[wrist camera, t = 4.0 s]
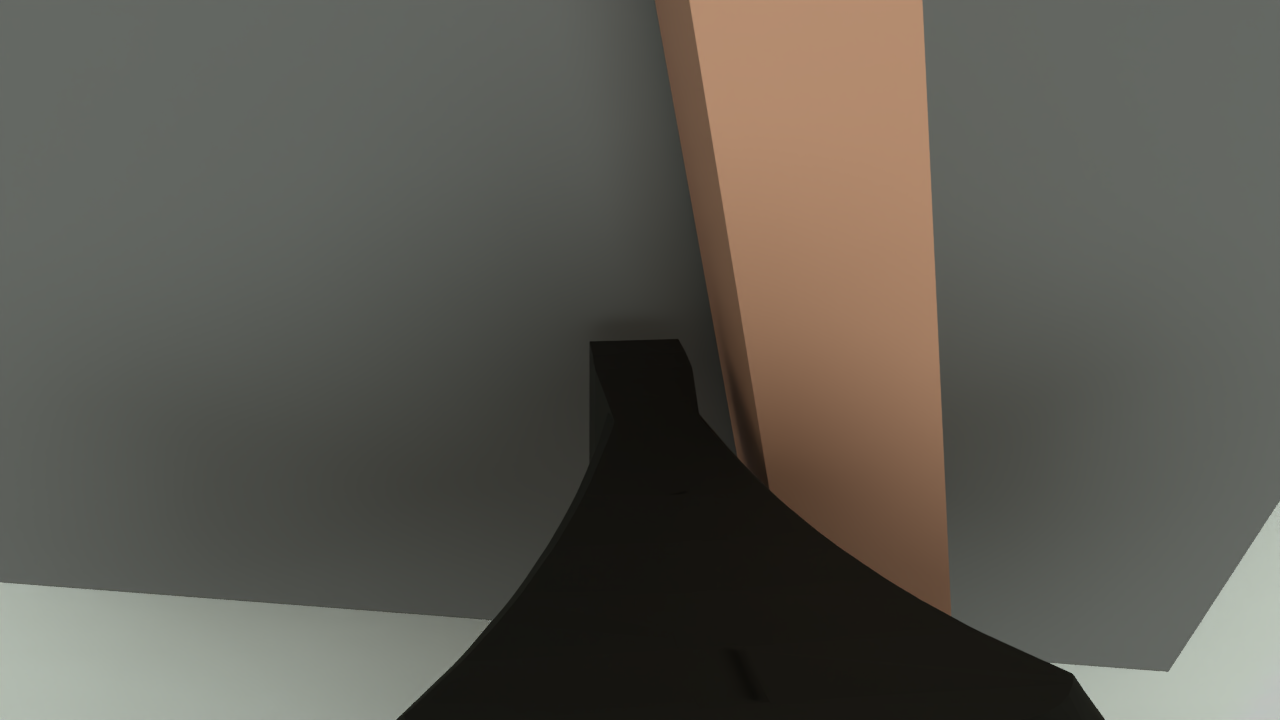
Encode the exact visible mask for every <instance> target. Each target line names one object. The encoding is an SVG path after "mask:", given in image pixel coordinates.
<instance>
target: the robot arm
mask: <svg viewBox="0 0 1280 720" xmlns="http://www.w3.org/2000/svg"><path fill="white" fill-rule="evenodd" d="M396 720H1105V719H1104V718H1103V716H1102V715H1101V714H1100V712H1099V711H1098V709H1097V708H1096V707H1095V705H1094V704H1093V702H1092V701H1091V700H1090V698H1089V697H1088V696H1087V694H1086V693H1085V691H1084V690H1083V688H1082V687H1081V685H1080V684H1079V682H1078V681H1077V679H1076V678H1075V676H1074V675H1073V674H1072V673H1070V672H1068V671H1066V670H1063V669H1061V668H1059V667H1057V666H1055V665H1052V664H1050V663H1048V662H1046V661H1043V660H1041V659H1039V658H1037V657H1035V656H1032V655H1030V654H1028V653H1026V652H1024V651H1021V650H1019V649H1017V648H1015V647H1013V646H1010V645H1008V644H1006V643H1004V642H1002V641H999V640H997V639H995V638H993V637H991V636H988V635H986V634H984V633H982V632H980V631H978V630H976V629H974V628H972V627H970V626H968V625H966V624H964V623H962V622H961V621H959V620H957V619H955V618H953V617H952V616H950V615H948V614H946V613H944V612H942V611H941V610H939V609H937V608H935V607H933V606H931V605H930V604H928V603H926V602H924V601H922V600H920V599H919V598H917V597H915V596H914V595H912V594H910V593H909V592H907V591H905V590H904V589H902V588H900V587H899V586H897V585H895V584H894V583H892V582H890V581H889V580H887V579H886V578H884V577H883V576H881V575H880V574H878V573H877V572H875V571H874V570H872V569H871V568H869V567H868V566H866V565H865V564H863V563H862V562H860V561H859V560H857V559H856V558H854V557H853V556H851V555H850V554H849V553H847V552H846V551H844V550H843V549H841V548H840V547H838V546H837V545H836V544H834V543H833V542H832V541H830V540H829V539H828V538H826V537H825V536H824V535H822V534H821V533H820V532H818V531H817V530H816V529H815V528H813V527H812V526H811V525H810V524H809V523H807V522H806V521H805V520H804V519H802V518H801V517H800V516H799V515H798V514H796V513H795V512H794V511H793V510H791V509H790V508H789V507H788V506H787V505H786V504H784V503H783V502H782V501H781V500H780V499H779V498H778V497H777V496H776V495H775V494H774V493H773V492H771V491H770V490H769V489H768V488H767V487H766V486H765V485H764V484H763V483H762V482H761V481H760V480H759V479H758V478H757V477H756V476H755V475H754V474H753V473H752V472H751V471H750V470H749V469H748V468H747V467H746V466H745V465H744V464H743V463H742V462H741V461H740V460H739V459H738V457H737V456H736V455H735V454H734V453H733V452H732V451H731V450H730V449H729V448H728V447H727V446H726V444H725V443H724V442H723V441H722V440H721V439H720V437H719V436H718V435H717V434H716V433H715V432H714V430H713V429H712V428H711V427H710V426H709V425H708V423H707V422H706V421H705V420H704V419H703V418H702V416H701V415H700V414H699V410H698V403H697V396H696V389H695V382H694V376H693V369H692V366H691V363H690V361H689V359H688V356H687V354H686V352H685V350H684V348H683V346H682V345H681V343H680V341H679V339H657V340H622V341H589V466H588V468H587V471H586V473H585V475H584V478H583V480H582V482H581V485H580V487H579V489H578V491H577V493H576V495H575V497H574V499H573V501H572V503H571V505H570V507H569V509H568V511H567V512H566V514H565V516H564V518H563V520H562V522H561V523H560V525H559V527H558V528H557V530H556V532H555V534H554V535H553V537H552V539H551V540H550V542H549V544H548V545H547V547H546V548H545V550H544V551H543V553H542V554H541V556H540V557H539V559H538V560H537V562H536V563H535V565H534V566H533V568H532V569H531V571H530V572H529V574H528V575H527V577H526V578H525V580H524V581H523V583H522V584H521V585H520V587H519V588H518V589H517V591H516V592H515V594H514V595H513V596H512V597H511V599H510V600H509V601H508V603H507V604H506V605H505V606H504V607H503V609H502V610H501V611H500V612H499V613H498V615H497V616H496V617H495V618H494V619H493V620H492V622H491V623H490V624H489V625H488V626H487V628H486V629H485V630H484V631H483V632H482V633H481V635H480V636H479V637H478V638H477V639H476V641H475V642H474V643H473V644H472V645H471V646H470V648H469V649H468V650H467V651H466V652H465V653H464V654H463V655H462V656H461V658H460V659H459V660H458V661H457V662H456V663H455V664H454V665H453V666H452V667H451V668H450V669H449V670H448V671H447V672H446V673H445V674H444V675H443V676H442V677H440V678H439V679H438V680H437V681H436V682H435V683H434V684H433V685H432V686H431V687H430V688H429V689H428V690H427V691H426V692H425V693H424V694H423V695H422V696H421V697H420V698H419V699H418V700H417V701H415V702H414V703H413V704H412V705H411V706H410V707H409V708H408V709H407V710H406V711H405V712H404V713H403V714H402V715H401V716H400V717H398V718H397V719H396Z"/></svg>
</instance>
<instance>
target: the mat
mask: <svg viewBox="0 0 1280 720" xmlns="http://www.w3.org/2000/svg"><path fill="white" fill-rule="evenodd" d="M922 2H923V23H924V44H925V66H926V87H927V108H928V130H929V151H930V172H931V193H932V215H933V236H934V257H935V279H936V300H937V321H938V342H939V364H940V385H941V406H942V428H943V449H944V470H945V491H946V513H947V534H948V555H949V577H950V598H951V616H952V617H953V618H955V619H957V620H959V621H961V622H962V623H964V624H966V625H968V626H970V627H972V628H974V629H976V630H978V631H980V632H982V633H984V634H986V635H988V636H991V637H993V638H995V639H997V640H999V641H1002V642H1004V643H1006V644H1008V645H1010V646H1013V647H1015V648H1017V649H1019V650H1021V651H1024V652H1026V653H1028V654H1030V655H1032V656H1035V657H1037V658H1039V659H1041V660H1043V661H1046V662H1048V663H1061V664H1075V665H1088V666H1101V667H1114V668H1127V669H1140V670H1153V671H1166V672H1168V671H1169V670H1170V668H1171V667H1172V665H1173V664H1174V662H1175V661H1176V659H1177V658H1178V656H1179V654H1180V653H1181V651H1182V650H1183V648H1184V647H1185V645H1186V644H1187V642H1188V641H1189V639H1190V638H1191V636H1192V634H1193V633H1194V631H1195V630H1196V628H1197V627H1198V625H1199V624H1200V622H1201V621H1202V619H1203V618H1204V616H1205V615H1206V613H1207V611H1208V610H1209V608H1210V607H1211V605H1212V604H1213V602H1214V601H1215V599H1216V598H1217V596H1218V595H1219V593H1220V591H1221V590H1222V588H1223V587H1224V585H1225V584H1226V582H1227V581H1228V579H1229V578H1230V576H1231V575H1232V573H1233V572H1234V570H1235V568H1236V567H1237V565H1238V564H1239V562H1240V561H1241V559H1242V558H1243V556H1244V555H1245V553H1246V552H1247V550H1248V548H1249V547H1250V545H1251V544H1252V542H1253V541H1254V539H1255V538H1256V536H1257V535H1258V533H1259V532H1260V530H1261V529H1262V527H1263V525H1264V524H1265V522H1266V521H1267V519H1268V518H1269V516H1270V515H1271V513H1272V512H1273V510H1274V509H1275V507H1276V505H1277V504H1278V502H1279V501H1280V0H922ZM657 339H679V341H680V343H681V345H682V346H683V348H684V350H685V352H686V354H687V356H688V359H689V361H690V363H691V366H692V369H693V376H694V382H695V389H696V396H697V403H698V410H699V414H700V415H701V416H702V418H703V419H704V420H705V421H706V422H707V423H708V425H709V426H710V427H711V428H712V429H713V430H714V432H715V433H716V434H717V435H718V436H719V437H720V439H721V440H722V441H723V442H724V443H725V444H726V446H727V447H728V448H729V449H730V450H731V451H732V452H733V453H734V454H735V455H736V456H737V452H736V447H735V441H734V436H733V430H732V425H731V419H730V414H729V408H728V402H727V397H726V391H725V386H724V380H723V375H722V369H721V364H720V358H719V353H718V347H717V342H716V336H715V331H714V325H713V320H712V314H711V309H710V303H709V297H708V292H707V286H706V281H705V275H704V270H703V264H702V259H701V253H700V248H699V242H698V237H697V231H696V226H695V220H694V215H693V209H692V203H691V198H690V192H689V187H688V181H687V176H686V170H685V165H684V159H683V154H682V148H681V143H680V137H679V132H678V126H677V121H676V115H675V110H674V104H673V98H672V93H671V87H670V82H669V76H668V71H667V65H666V60H665V54H664V49H663V43H662V38H661V32H660V27H659V21H658V16H657V10H656V4H655V0H0V582H4V583H17V584H30V585H43V586H56V587H69V588H82V589H95V590H108V591H121V592H134V593H147V594H160V595H173V596H186V597H199V598H212V599H226V600H239V601H252V602H265V603H278V604H291V605H304V606H317V607H330V608H343V609H356V610H369V611H382V612H395V613H408V614H421V615H435V616H448V617H461V618H474V619H487V620H493V619H494V618H495V617H496V616H497V615H498V613H499V612H500V611H501V610H502V609H503V607H504V606H505V605H506V604H507V603H508V601H509V600H510V599H511V597H512V596H513V595H514V594H515V592H516V591H517V589H518V588H519V587H520V585H521V584H522V583H523V581H524V580H525V578H526V577H527V575H528V574H529V572H530V571H531V569H532V568H533V566H534V565H535V563H536V562H537V560H538V559H539V557H540V556H541V554H542V553H543V551H544V550H545V548H546V547H547V545H548V544H549V542H550V540H551V539H552V537H553V535H554V534H555V532H556V530H557V528H558V527H559V525H560V523H561V522H562V520H563V518H564V516H565V514H566V512H567V511H568V509H569V507H570V505H571V503H572V501H573V499H574V497H575V495H576V493H577V491H578V489H579V487H580V485H581V482H582V480H583V478H584V475H585V473H586V471H587V468H588V466H589V341H622V340H657Z"/></svg>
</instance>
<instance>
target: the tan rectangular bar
mask: <svg viewBox="0 0 1280 720" xmlns="http://www.w3.org/2000/svg"><path fill="white" fill-rule="evenodd" d="M655 4H656V10H657V16H658V21H659V27H660V32H661V38H662V43H663V49H664V54H665V60H666V65H667V71H668V76H669V82H670V87H671V93H672V98H673V104H674V110H675V115H676V121H677V126H678V132H679V137H680V143H681V148H682V154H683V159H684V165H685V170H686V176H687V181H688V187H689V192H690V198H691V203H692V209H693V215H694V220H695V226H696V231H697V237H698V242H699V248H700V253H701V259H702V264H703V270H704V275H705V281H706V286H707V292H708V297H709V303H710V309H711V314H712V320H713V325H714V331H715V336H716V342H717V347H718V353H719V358H720V364H721V369H722V375H723V380H724V386H725V391H726V397H727V402H728V408H729V414H730V419H731V425H732V430H733V436H734V441H735V447H736V452H737V457H738V459H739V460H740V461H741V462H742V463H743V464H744V465H745V466H746V467H747V468H748V469H749V470H750V471H751V472H752V473H753V474H754V475H755V476H756V477H757V478H758V479H759V480H760V481H761V482H762V483H763V484H764V485H765V486H766V487H767V488H768V489H769V490H770V491H771V492H773V493H774V494H775V495H776V496H777V497H778V498H779V499H780V500H781V501H782V502H783V503H784V504H786V505H787V506H788V507H789V508H790V509H791V510H793V511H794V512H795V513H796V514H798V515H799V516H800V517H801V518H802V519H804V520H805V521H806V522H807V523H809V524H810V525H811V526H812V527H813V528H815V529H816V530H817V531H818V532H820V533H821V534H822V535H824V536H825V537H826V538H828V539H829V540H830V541H832V542H833V543H834V544H836V545H837V546H838V547H840V548H841V549H843V550H844V551H846V552H847V553H849V554H850V555H851V556H853V557H854V558H856V559H857V560H859V561H860V562H862V563H863V564H865V565H866V566H868V567H869V568H871V569H872V570H874V571H875V572H877V573H878V574H880V575H881V576H883V577H884V578H886V579H887V580H889V581H890V582H892V583H894V584H895V585H897V586H899V587H900V588H902V589H904V590H905V591H907V592H909V593H910V594H912V595H914V596H915V597H917V598H919V599H920V600H922V601H924V602H926V603H928V604H930V605H931V606H933V607H935V608H937V609H939V610H941V611H942V612H944V613H946V614H948V615H950V616H951V598H950V577H949V555H948V534H947V513H946V491H945V470H944V449H943V428H942V406H941V385H940V364H939V342H938V321H937V300H936V279H935V257H934V236H933V215H932V193H931V172H930V151H929V130H928V108H927V87H926V66H925V44H924V23H923V2H922V0H655Z"/></svg>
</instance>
